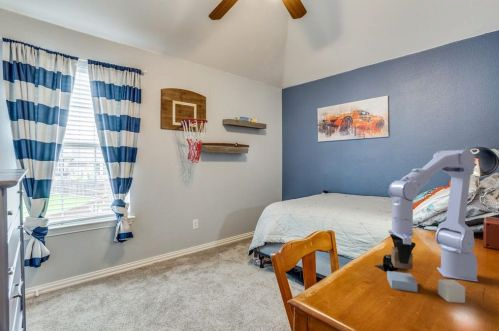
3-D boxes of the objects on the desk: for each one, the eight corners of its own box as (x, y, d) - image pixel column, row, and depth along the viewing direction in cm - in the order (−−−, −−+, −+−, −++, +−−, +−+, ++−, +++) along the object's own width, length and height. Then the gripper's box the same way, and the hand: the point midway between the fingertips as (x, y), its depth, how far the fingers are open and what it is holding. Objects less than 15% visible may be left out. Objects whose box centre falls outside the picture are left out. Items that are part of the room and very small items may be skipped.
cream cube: (453, 294, 77) (453, 279, 77) (465, 302, 73) (465, 287, 73) (437, 294, 78) (438, 279, 77) (448, 302, 73) (448, 286, 73)
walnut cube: (408, 263, 84) (408, 248, 84) (412, 269, 80) (412, 253, 80) (391, 261, 86) (391, 246, 86) (394, 267, 81) (394, 251, 81)
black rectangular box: (383, 275, 91) (383, 261, 91) (368, 266, 99) (368, 254, 99) (413, 271, 95) (413, 257, 95) (396, 263, 102) (396, 250, 102)
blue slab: (410, 282, 85) (410, 273, 85) (417, 293, 79) (417, 283, 78) (387, 279, 87) (387, 271, 87) (391, 289, 81) (391, 280, 81)
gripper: (384, 212, 91) (384, 251, 91) (392, 222, 77) (391, 266, 77) (407, 214, 88) (407, 253, 89) (419, 224, 75) (419, 270, 75)
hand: (401, 259), depth 83 cm, fingers closed on walnut cube, 5 cm apart
